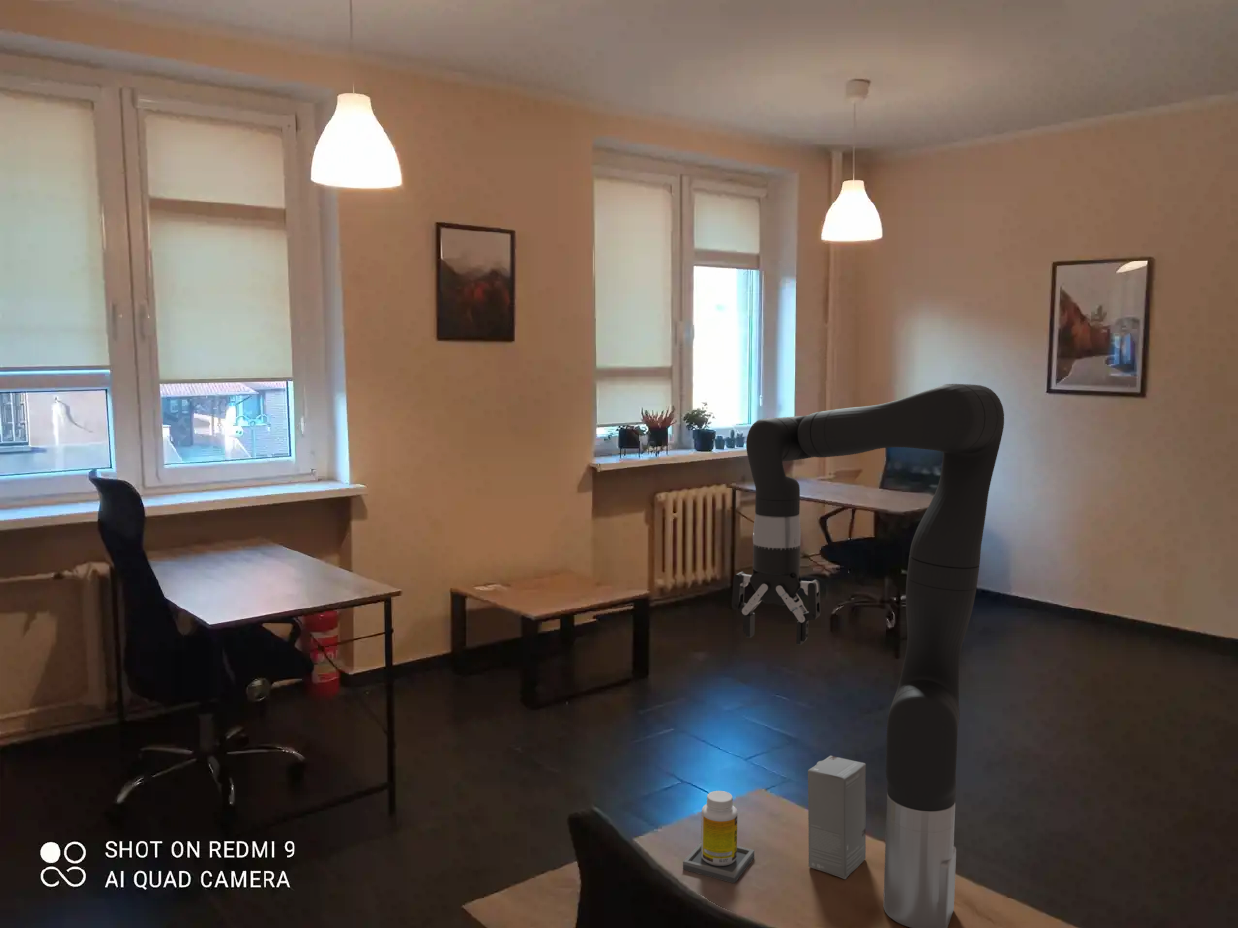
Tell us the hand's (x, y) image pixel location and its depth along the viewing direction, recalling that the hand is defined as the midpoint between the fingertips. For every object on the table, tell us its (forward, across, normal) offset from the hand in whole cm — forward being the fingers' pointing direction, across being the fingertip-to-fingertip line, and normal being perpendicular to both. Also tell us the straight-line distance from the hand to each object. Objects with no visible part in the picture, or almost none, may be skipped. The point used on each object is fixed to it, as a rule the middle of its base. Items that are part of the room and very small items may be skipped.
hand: (774, 639), depth 158 cm
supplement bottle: (+32, +4, +13) cm, 35 cm away
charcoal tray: (+33, +4, +13) cm, 36 cm away
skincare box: (+33, -12, +4) cm, 36 cm away
